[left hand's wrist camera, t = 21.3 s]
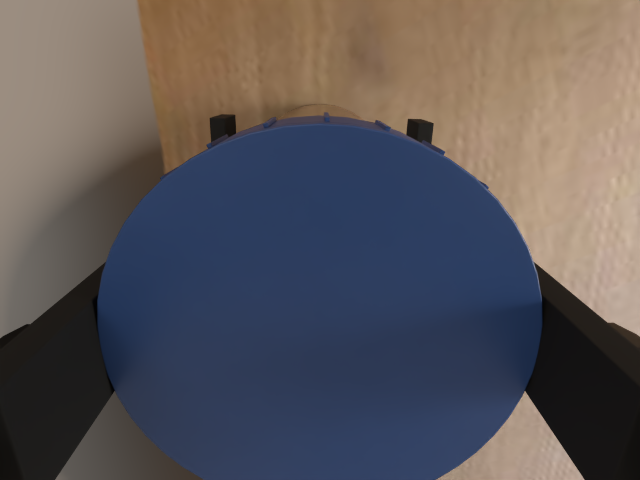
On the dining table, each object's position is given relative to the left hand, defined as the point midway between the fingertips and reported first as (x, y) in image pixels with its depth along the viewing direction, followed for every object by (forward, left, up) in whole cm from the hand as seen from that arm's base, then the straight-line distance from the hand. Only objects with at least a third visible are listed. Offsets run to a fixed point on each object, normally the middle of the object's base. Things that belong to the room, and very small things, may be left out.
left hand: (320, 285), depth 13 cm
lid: (0, 0, +3) cm, 3 cm away
